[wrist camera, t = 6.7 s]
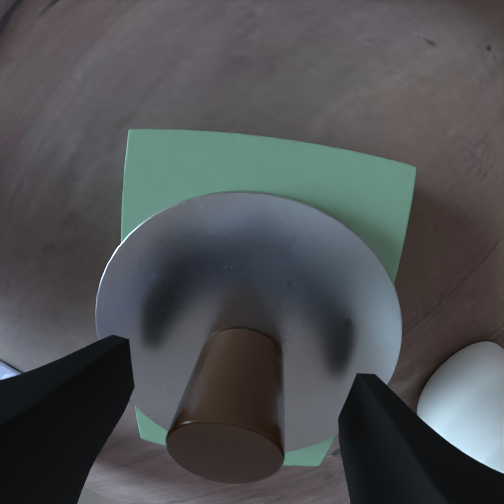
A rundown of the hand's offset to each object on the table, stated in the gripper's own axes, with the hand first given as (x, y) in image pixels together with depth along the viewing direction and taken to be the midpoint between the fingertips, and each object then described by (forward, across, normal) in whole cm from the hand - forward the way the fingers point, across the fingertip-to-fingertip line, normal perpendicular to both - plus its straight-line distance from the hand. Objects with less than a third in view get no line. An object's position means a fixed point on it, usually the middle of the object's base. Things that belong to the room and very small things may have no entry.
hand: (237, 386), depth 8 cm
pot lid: (+2, 0, 0) cm, 2 cm away
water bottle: (+6, -14, +4) cm, 16 cm away
